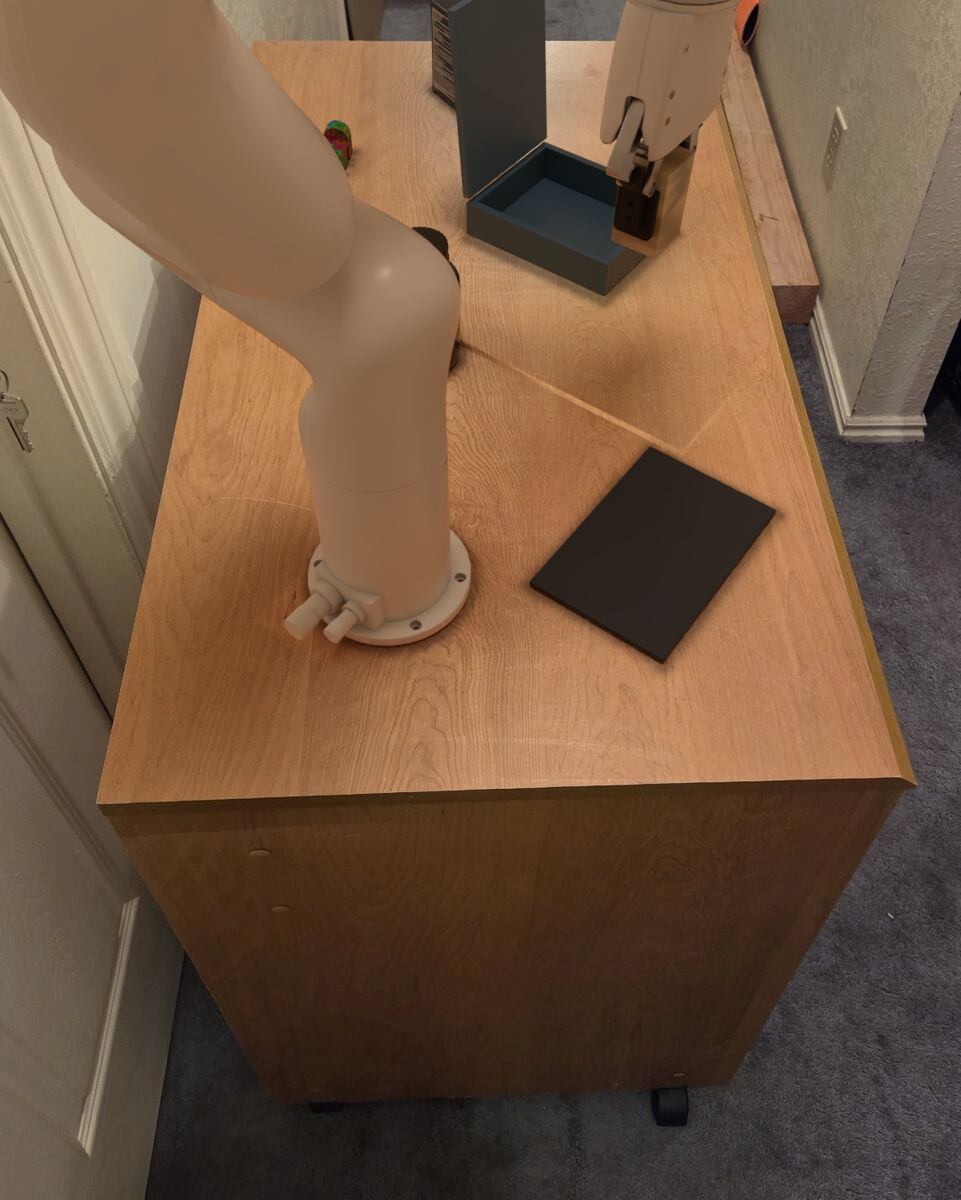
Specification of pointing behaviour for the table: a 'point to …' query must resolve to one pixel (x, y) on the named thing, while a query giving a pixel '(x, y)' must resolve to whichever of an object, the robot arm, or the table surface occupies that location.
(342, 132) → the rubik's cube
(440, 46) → the small box
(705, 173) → the table surface
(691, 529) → the mat
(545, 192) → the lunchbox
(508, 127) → the lunchbox lid
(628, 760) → the table surface
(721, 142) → the table surface
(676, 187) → the block
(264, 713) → the table surface
